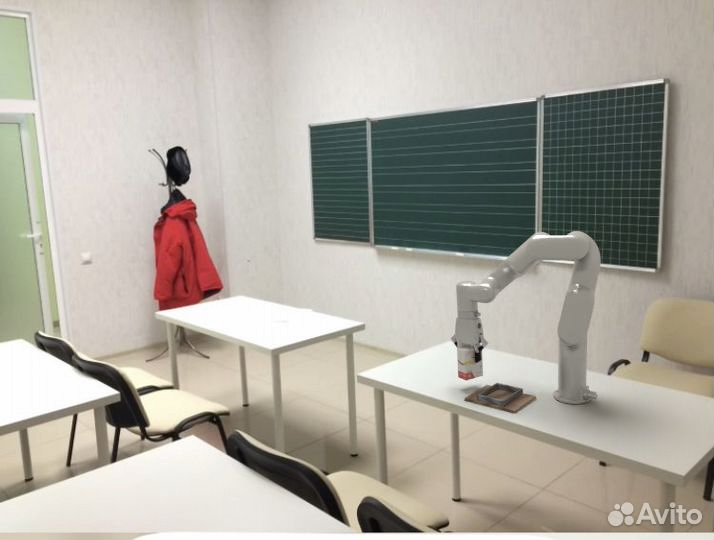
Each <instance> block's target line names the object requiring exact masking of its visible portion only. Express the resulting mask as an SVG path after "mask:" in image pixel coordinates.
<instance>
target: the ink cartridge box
mask: <svg viewBox="0 0 714 540" xmlns="http://www.w3.org/2000/svg"><path fill="white" fill-rule="evenodd" d="M475 352H476V351H475V348H474V346H473V345H469V344H462V343H460V340H458V341H457V347H456V355H457V356H456V357H457V358H456V359H457V376H458V377H457V378H459V379H462V380H464V381H469V380H470V381H471V380H473V379H477V378H479V377H483V376H484V371H483V370H484V368H483V350H482V351H481V361H479V362H478V363H475Z"/></svg>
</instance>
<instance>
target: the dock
mask: <svg viewBox="0 0 714 540" xmlns="http://www.w3.org/2000/svg"><path fill="white" fill-rule="evenodd" d="M536 399H537V396H536V395H533V394H530V393H529V394H528V393H524V388H522V387H517V386H513V385H509V384H505V383H504V384H503V383H500V382H496V383H494V384H493V385H489V384H486V385H484V386H482V387H481V388H479V389H477V390H475V391H473V392H472V393H470V394H468V395H467V396H465V397H464V401H465V402H469V403H472V404H477V405H481V406H485V407H488V408H491V409H495V410H500V411H503V412H507V413H511V414H514V413H515V414H516V413H518V412H520V411H521V410H522V409H523V408H525V407H526V406H528V405H529V404H531V403H532V402H533V401H535V400H536ZM527 404H528V405H527Z"/></svg>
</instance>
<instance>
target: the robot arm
mask: <svg viewBox="0 0 714 540" xmlns="http://www.w3.org/2000/svg"><path fill="white" fill-rule="evenodd" d="M601 260H602V259H601V252H600V249H599V247H598V245H597V243H596V241H595V240H593V238H592V237H591V236H590V235H588V234H587V233H585V232H583V231H580V230H573V231H570V233H567V234H566V235H550V234H549V233H547V232H544V231H538V232H535V233H533V235H531V236H530V237H529V238H528V239H526V241H524V242H523V243H522V244H521V245H520V246H519V247H517V248H516V249H515V250H514V251H513V252H512V253H511V254H510V255H508V257H506V258H505V259H504V261H503V262H502V263H501V264H500V265H499V266H498V267H497V268H496V269H495V270H493V271H492V272H491V273H490V274H489V275H488V276H486V277H485V278H484V279H483V280H482V281H481V282H479V283H476V282H475V281H472V280H462V281H459V282H457V284H456V285H455V286H456V287H455V289H456V308H457V317H456V318H455V327H454V334H453V336H451V338H450V339H451V342H452V343H453V344H454V346H455V347H456V348H457V341H458V340H460V343H462V344H469V345H473V346H474V348H475V351H476V352H475V363H478V362H479V361H481V351H482V352H483V350H485V348H486V347H487V346H488V345H489V341H487V340H486V339H485V337H484V329H483V323H482V320H481V316H482V315H481V312H479V309H478V308H479V306H478V303H480V304H481V303H482V304H490V303H492V302H494V301H495V300H496V298H497V296H498V295H499V294H500V293H501V292H502V291H503V290H504V289H505V288H506V287H508V286H509V285H511V283H513V282H514V281H516V280H517V279H518V278H522V277H523V276H525V275H527V274H528V272H529V271H530V270H532V269H533V268H534V267H535V266H536V265H537V264H538V263H540V262H541V261H574V263H573V269H572V273H571V277H570V280H569V281H570V282H569V285H568V288H567V290H566V292H565V295H564V301H563V305H562V309H561V313H560V318H559V321H558V324H557V329H556V332H557V337H558V360H557V361H558V362H557V363H558V365H557V366H558V367H557V368H558V372H557V373H558V374H557V378H558V379H557V381H558V382H557V389H556V390H555V391H554V392H553V397H554V399H555V400H557V401H558V402H561V403H564V404H570V405H581V404H587V403H588V402H590V400H592V399H593V400H597V399H598V396H599V395H598V394H597V391H593V390H590V385H587V371H588V370H587V369H588V366H587V363H588V362H587V361H588V360H587V358H588V331H589V329H590V325H591V324H590V323H591V320H592V316H593V312H594V307H595V294H596V293H595V292H596V287H597V284H598V278H599V274H600V270H601V269H600V268H601Z"/></svg>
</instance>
